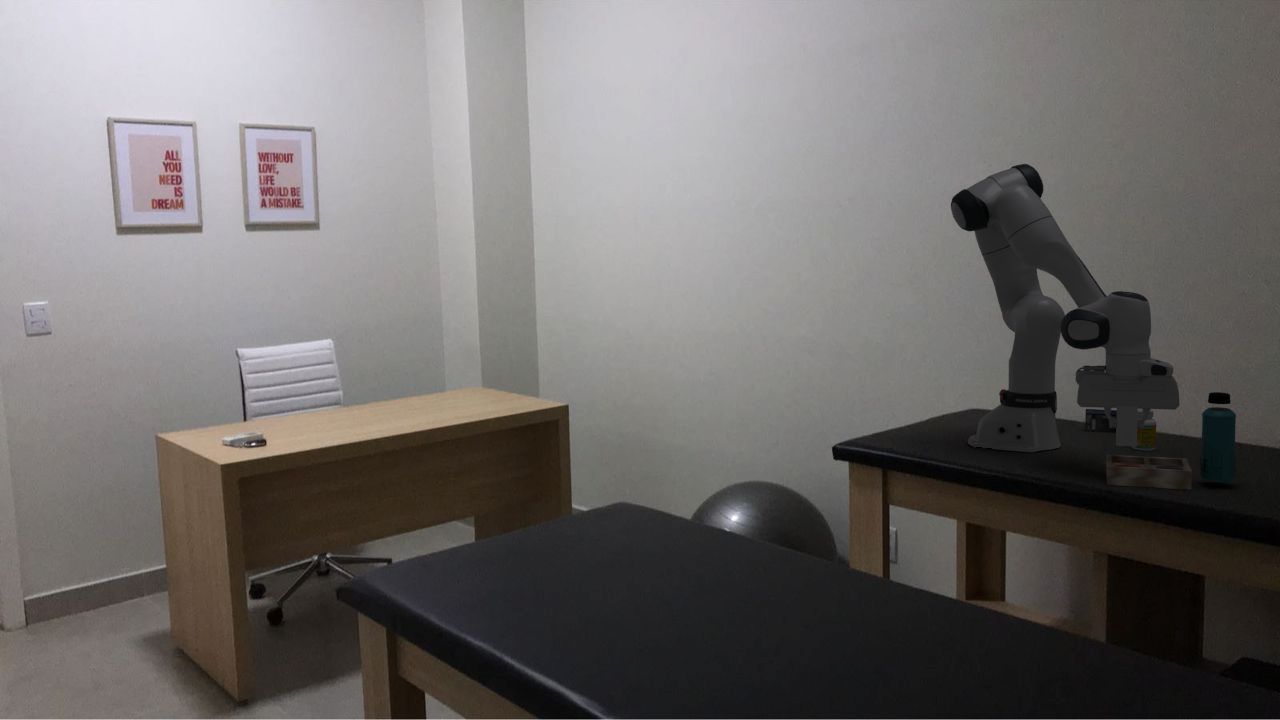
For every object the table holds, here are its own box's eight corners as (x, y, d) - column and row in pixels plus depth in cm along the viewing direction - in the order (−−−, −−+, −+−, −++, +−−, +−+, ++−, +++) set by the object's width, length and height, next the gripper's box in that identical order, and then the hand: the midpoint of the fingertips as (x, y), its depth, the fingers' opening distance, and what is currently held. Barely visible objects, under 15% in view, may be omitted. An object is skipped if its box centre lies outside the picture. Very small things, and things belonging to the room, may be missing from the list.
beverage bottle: (1242, 487, 208) (1245, 393, 205) (1217, 490, 206) (1220, 396, 203) (1216, 480, 214) (1219, 389, 211) (1191, 483, 212) (1194, 391, 210)
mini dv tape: (1085, 431, 268) (1085, 409, 268) (1085, 430, 270) (1086, 408, 269) (1118, 433, 264) (1119, 411, 264) (1118, 432, 266) (1119, 410, 265)
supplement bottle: (1141, 452, 242) (1142, 413, 241) (1126, 447, 247) (1127, 409, 246) (1160, 450, 243) (1161, 411, 242) (1145, 445, 248) (1146, 407, 247)
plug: (1116, 445, 217) (1117, 405, 216) (1116, 441, 220) (1116, 402, 219) (1136, 446, 215) (1137, 406, 214) (1136, 442, 219) (1136, 402, 218)
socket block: (1107, 484, 214) (1107, 465, 213) (1105, 471, 224) (1106, 453, 224) (1191, 489, 207) (1191, 469, 207) (1185, 476, 218) (1186, 457, 217)
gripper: (1075, 367, 217) (1074, 428, 219) (1181, 368, 209) (1179, 432, 210) (1076, 363, 223) (1075, 423, 225) (1178, 364, 214) (1177, 427, 216)
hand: (1126, 428), depth 217 cm, fingers closed on plug, 4 cm apart
